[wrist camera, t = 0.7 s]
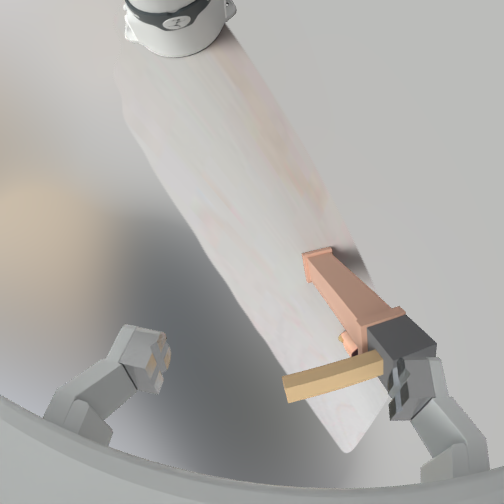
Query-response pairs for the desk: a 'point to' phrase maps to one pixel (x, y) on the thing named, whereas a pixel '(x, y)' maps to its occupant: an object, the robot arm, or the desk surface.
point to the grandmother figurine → (348, 344)
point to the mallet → (364, 360)
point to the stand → (347, 295)
